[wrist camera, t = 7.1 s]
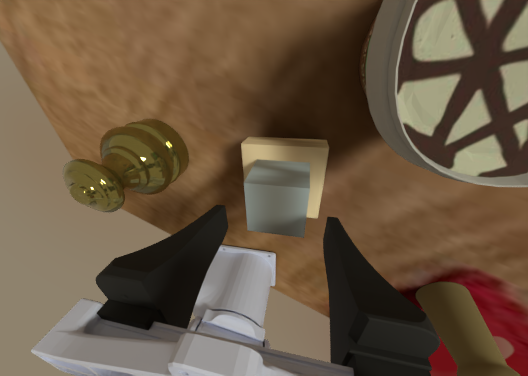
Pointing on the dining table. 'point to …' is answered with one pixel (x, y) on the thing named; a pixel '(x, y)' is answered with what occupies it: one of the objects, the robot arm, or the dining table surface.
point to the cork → (462, 330)
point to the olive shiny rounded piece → (128, 165)
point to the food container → (452, 86)
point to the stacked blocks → (283, 182)
